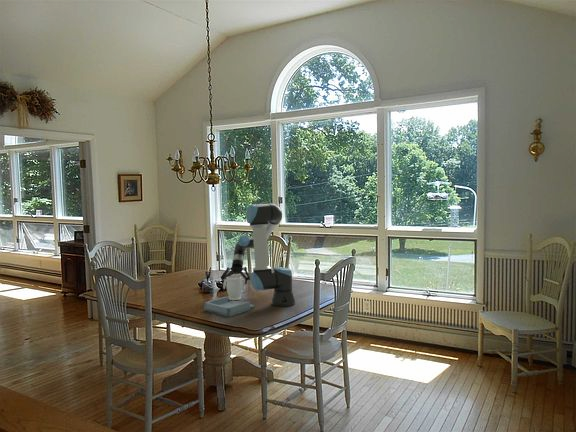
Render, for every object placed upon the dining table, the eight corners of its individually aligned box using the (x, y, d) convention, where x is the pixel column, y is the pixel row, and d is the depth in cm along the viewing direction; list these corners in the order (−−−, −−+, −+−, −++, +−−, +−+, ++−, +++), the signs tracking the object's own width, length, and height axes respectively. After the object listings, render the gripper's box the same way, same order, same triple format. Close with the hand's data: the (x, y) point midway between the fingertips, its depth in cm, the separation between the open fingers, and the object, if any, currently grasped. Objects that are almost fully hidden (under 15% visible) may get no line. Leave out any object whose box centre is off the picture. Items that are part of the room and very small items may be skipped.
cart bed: (256, 307, 273) (255, 300, 273) (228, 316, 255) (228, 308, 255) (232, 302, 287) (231, 294, 287) (204, 310, 270) (204, 302, 269)
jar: (227, 301, 290) (226, 279, 289) (226, 297, 300) (225, 276, 299) (243, 300, 292) (242, 278, 291) (241, 296, 302) (241, 275, 301)
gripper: (256, 265, 310) (252, 291, 296) (221, 265, 312) (216, 291, 298) (254, 258, 304) (251, 285, 290) (219, 259, 307) (214, 285, 293)
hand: (233, 288), depth 294 cm, fingers open, 13 cm apart
